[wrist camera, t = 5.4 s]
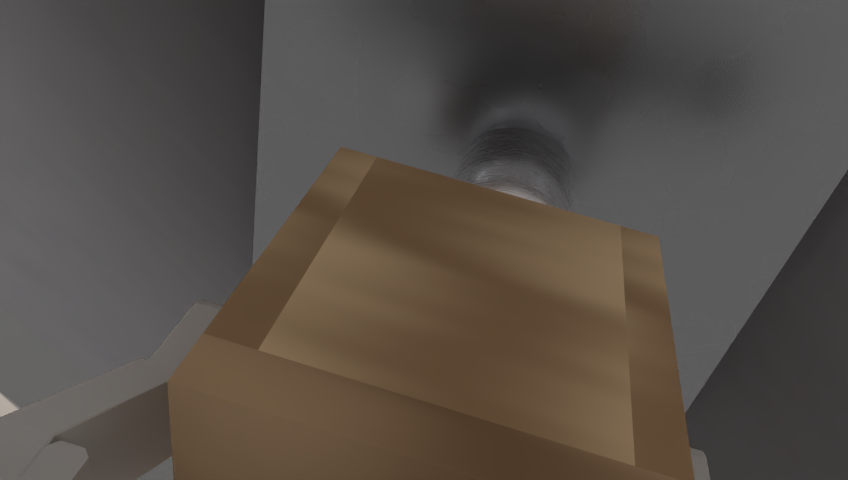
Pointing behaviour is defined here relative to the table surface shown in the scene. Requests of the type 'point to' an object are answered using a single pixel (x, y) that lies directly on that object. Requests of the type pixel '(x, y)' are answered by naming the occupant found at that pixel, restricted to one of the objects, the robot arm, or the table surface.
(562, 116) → the post mount
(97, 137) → the table surface
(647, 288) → the oak block
